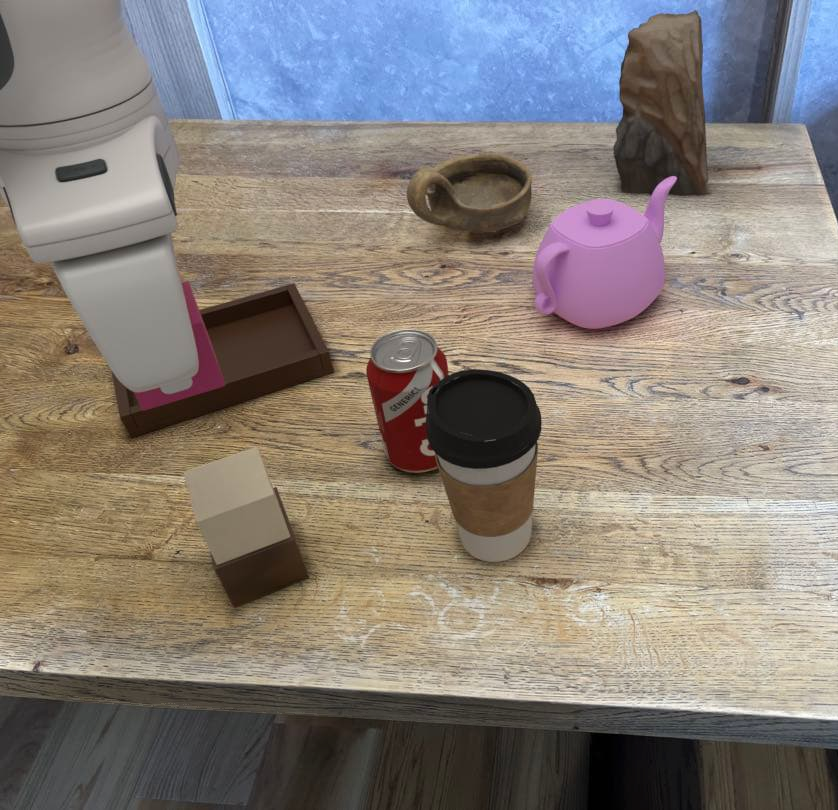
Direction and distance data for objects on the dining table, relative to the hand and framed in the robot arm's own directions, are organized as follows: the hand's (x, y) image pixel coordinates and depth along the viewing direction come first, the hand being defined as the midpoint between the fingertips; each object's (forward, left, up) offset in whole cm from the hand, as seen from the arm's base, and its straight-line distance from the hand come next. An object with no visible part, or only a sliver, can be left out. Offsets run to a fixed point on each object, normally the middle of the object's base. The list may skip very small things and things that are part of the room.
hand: (170, 356), depth 51 cm
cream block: (0, 0, -17) cm, 17 cm away
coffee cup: (+18, -6, -22) cm, 29 cm away
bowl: (+36, +41, -22) cm, 59 cm away
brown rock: (+64, +39, -22) cm, 78 cm away
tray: (+2, +28, -22) cm, 36 cm away
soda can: (+16, +6, -22) cm, 28 cm away
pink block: (0, 0, -2) cm, 2 cm away
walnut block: (0, 0, -22) cm, 22 cm away
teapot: (+43, +19, -22) cm, 52 cm away
